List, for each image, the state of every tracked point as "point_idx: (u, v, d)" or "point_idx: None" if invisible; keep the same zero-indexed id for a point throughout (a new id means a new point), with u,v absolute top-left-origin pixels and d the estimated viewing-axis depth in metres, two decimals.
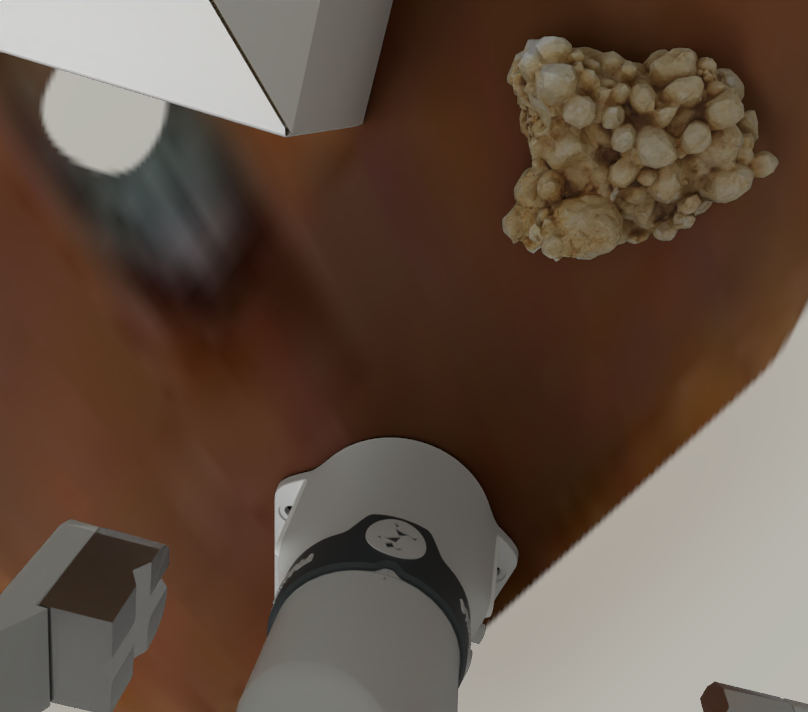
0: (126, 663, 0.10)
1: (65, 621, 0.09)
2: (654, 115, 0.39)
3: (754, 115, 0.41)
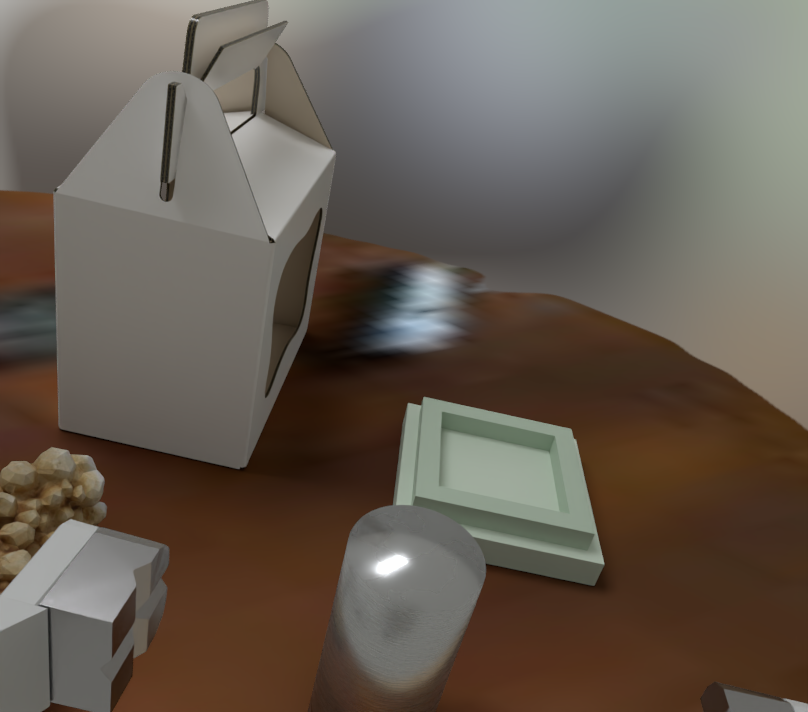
0: (126, 663, 0.10)
1: (65, 621, 0.09)
2: None
3: None
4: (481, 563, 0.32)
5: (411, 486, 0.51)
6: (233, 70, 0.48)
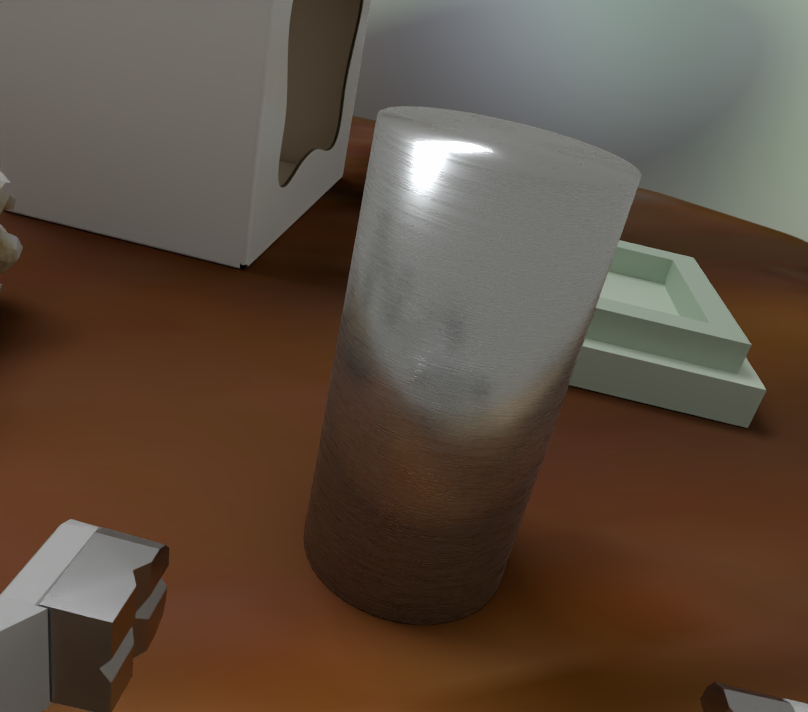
0: (126, 663, 0.10)
1: (65, 621, 0.09)
2: None
3: None
4: (629, 167, 0.17)
5: None
6: None
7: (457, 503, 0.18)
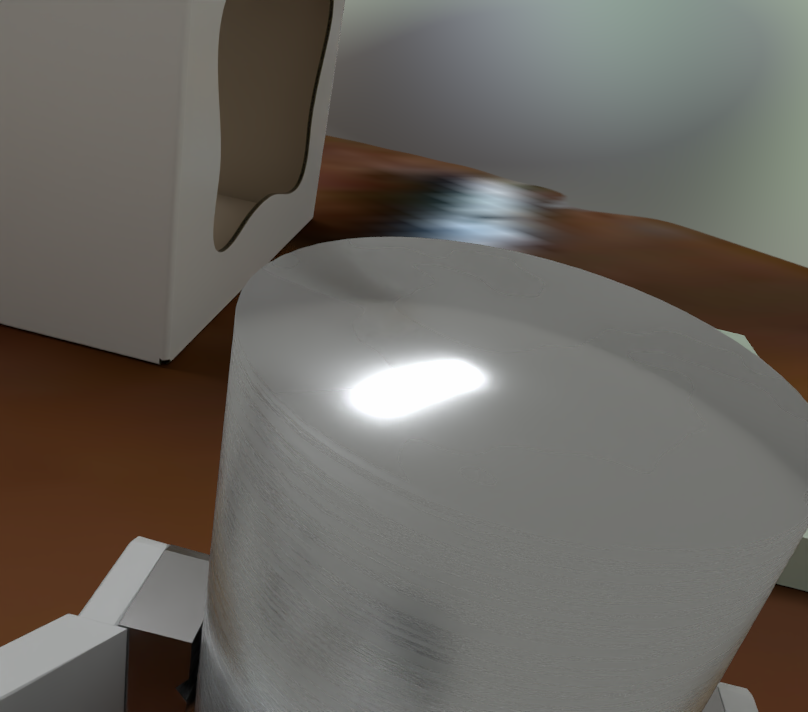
0: None
1: (144, 641, 0.09)
2: None
3: None
4: (788, 397, 0.08)
5: None
6: None
7: None
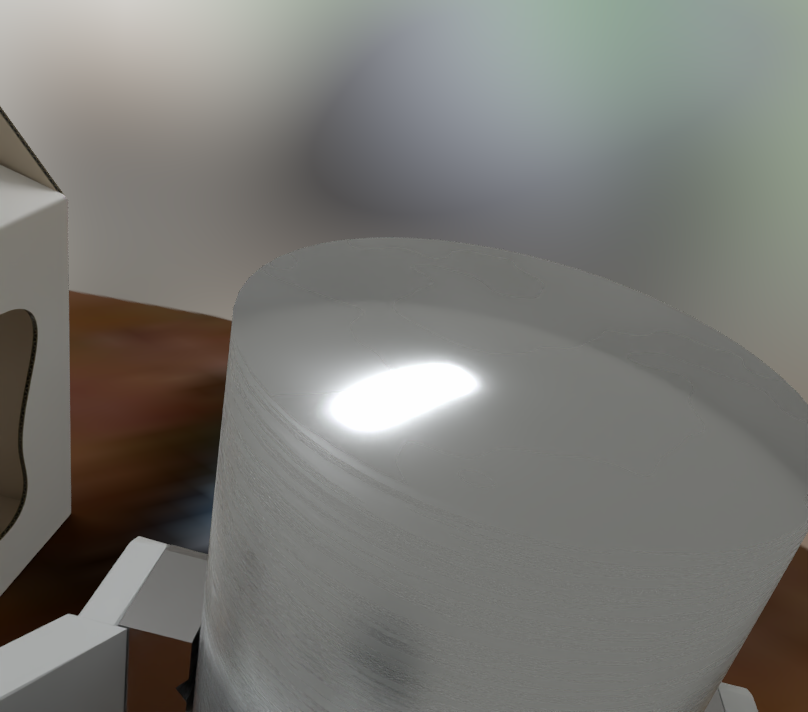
0: None
1: (143, 641, 0.09)
2: None
3: None
4: (788, 399, 0.08)
5: None
6: None
7: None
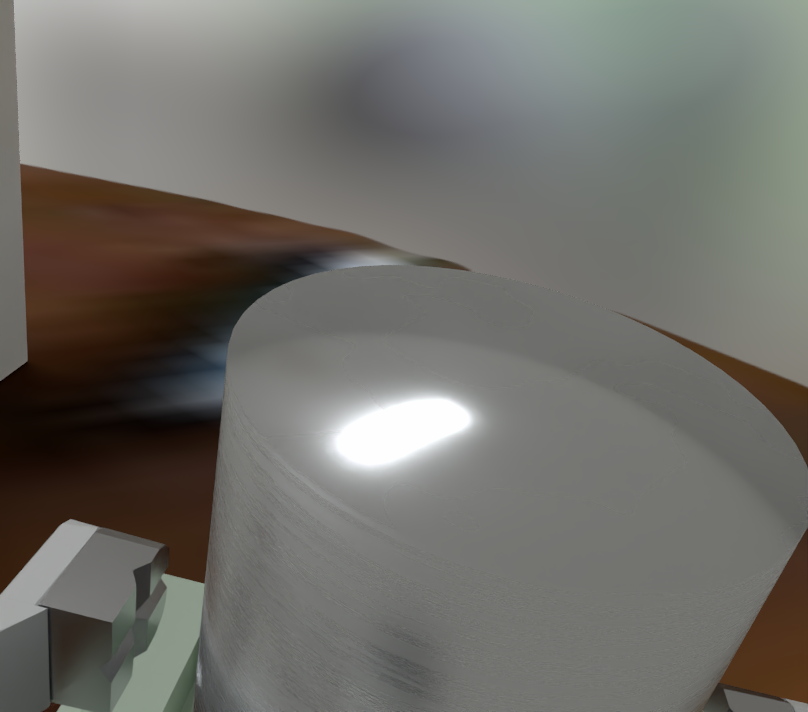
0: (126, 663, 0.10)
1: (65, 621, 0.09)
2: None
3: None
4: (770, 430, 0.08)
5: None
6: None
7: None
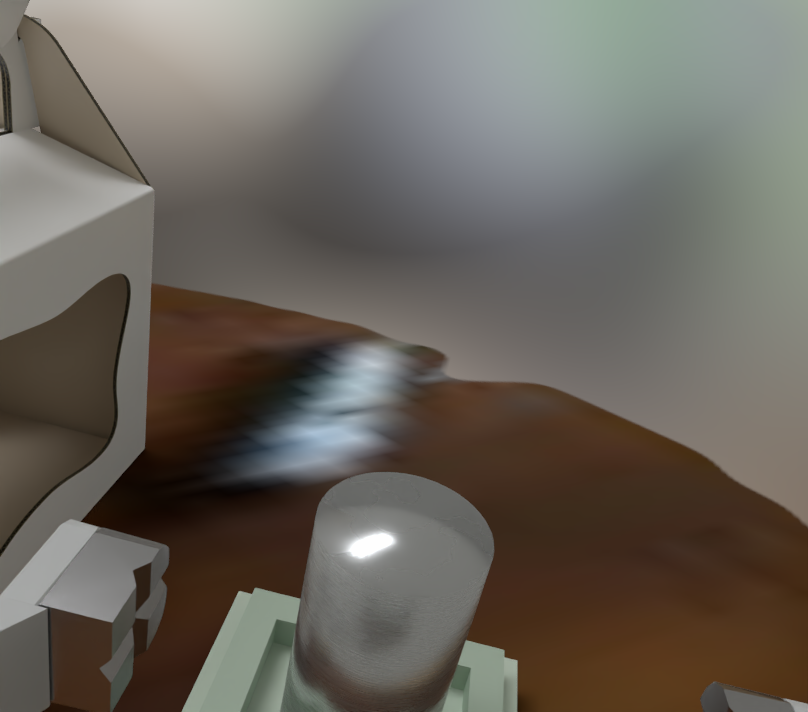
0: (126, 663, 0.10)
1: (65, 621, 0.09)
2: None
3: None
4: (488, 545, 0.25)
5: None
6: None
7: None
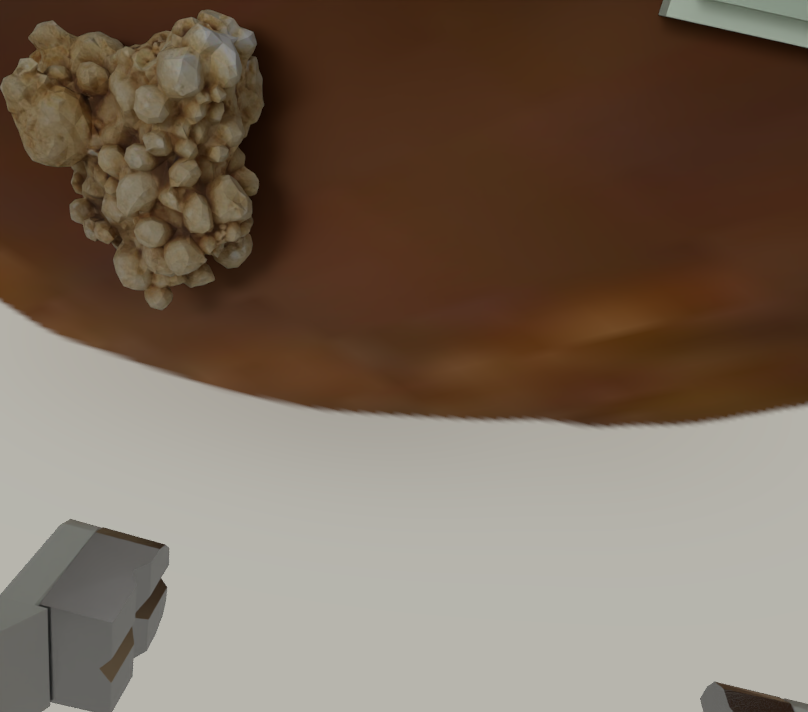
0: (126, 663, 0.10)
1: (65, 621, 0.09)
2: (167, 188, 0.37)
3: (208, 281, 0.42)
4: None
5: None
6: None
7: None
